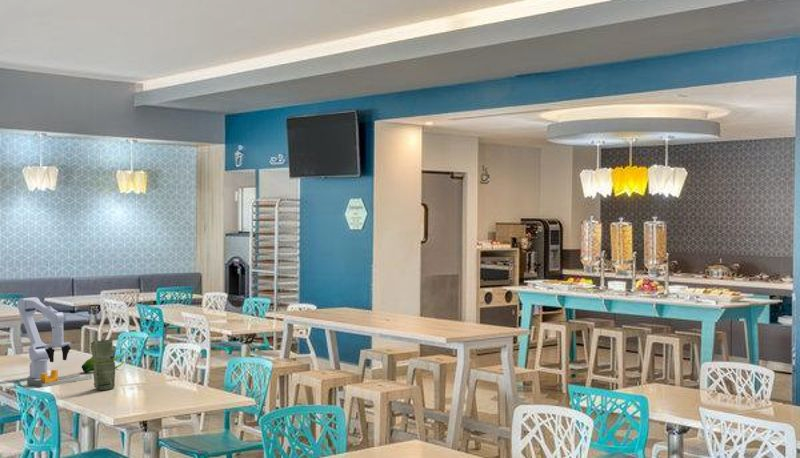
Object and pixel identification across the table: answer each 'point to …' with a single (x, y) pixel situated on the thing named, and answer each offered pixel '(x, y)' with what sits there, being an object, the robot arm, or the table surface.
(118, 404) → the table surface
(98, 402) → the table surface
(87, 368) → the decorative plant
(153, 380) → the table surface
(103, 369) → the pouch
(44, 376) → the pipe clamp
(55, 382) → the rail
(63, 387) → the table surface
